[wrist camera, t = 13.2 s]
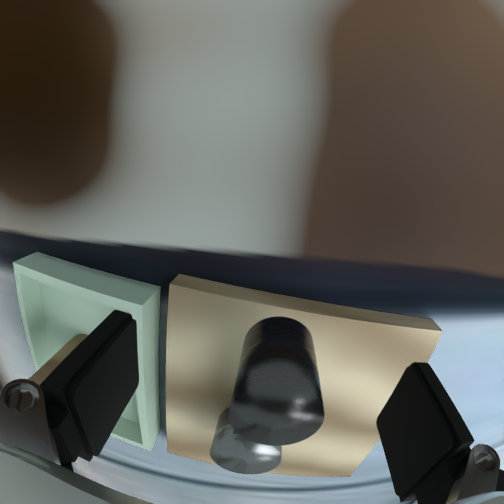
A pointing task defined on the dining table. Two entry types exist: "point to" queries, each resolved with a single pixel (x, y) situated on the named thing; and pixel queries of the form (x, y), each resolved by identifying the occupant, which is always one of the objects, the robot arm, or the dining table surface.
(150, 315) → the tray
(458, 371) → the dining table surface
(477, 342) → the dining table surface
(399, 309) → the dining table surface
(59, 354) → the peg
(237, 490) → the dining table surface
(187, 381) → the plate
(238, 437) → the crank
